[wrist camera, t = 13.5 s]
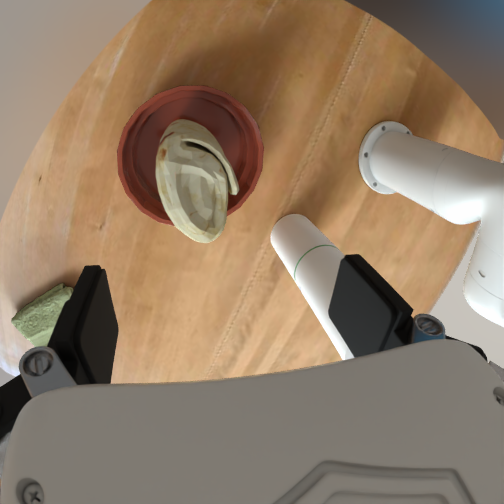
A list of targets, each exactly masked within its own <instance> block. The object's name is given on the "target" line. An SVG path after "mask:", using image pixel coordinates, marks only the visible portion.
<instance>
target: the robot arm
mask: <svg viewBox="0 0 504 504" xmlns="http://www.w3.org/2000/svg"><path fill="white" fill-rule="evenodd" d="M359 168H360V172H361V175H362V177H363V179H364V181H365V182H366V184H367V185H368V186H369V187H370V188H372V189H373V190H375V191H377V192H379V193H382V194H392V193H395V192H398V193H400V194H402V195H404V196H406V197H408V198H410V199H411V200H413V201H415V202H417V203H419V204H420V205H422V206H424V207H426V208H427V209H429V210H431V211H433V212H434V213H436V214H438V215H439V216H441V217H443V218H444V219H446V220H448V221H450V222H452V223H455V224H469V223H472V222H476V221H478V220H481V226H480V230H479V235H478V238H477V242H476V245H475V248H474V251H473V255H472V257H471V260H470V263H469V267H468V269H467V272H466V276H465V279H464V284H463V292H464V296H465V299H466V301H467V302H468V304H469V305H470V306H471V307H472V308H473V309H474V310H475V311H476V312H477V313H479V314H480V315H482V316H483V317H485V318H487V319H489V320H490V321H492V322H494V323H496V324H498V325H500V326H503V327H504V163H500V162H496V161H492V160H489V159H486V158H483V157H480V156H477V155H474V154H471V153H468V152H465V151H462V150H459V149H456V148H453V147H450V146H447V145H444V144H441V143H438V142H434V141H431V140H427V139H424V138H420V137H417V136H413V134H412V133H411V131H410V130H409V129H408V128H407V127H406V126H404V125H403V124H400V123H398V122H393V121H385V122H381V123H379V124H377V125H375V126H374V127H372V128H371V129H370V130H369V132H368V133H367V134H366V135H365V137H364V139H363V141H362V144H361V147H360V151H359ZM412 312H413V309H412V308H411V307H410V305H409V304H408V303H407V302H406V301H405V300H404V299H403V298H402V297H401V296H400V295H399V294H398V293H397V292H396V291H395V290H394V289H393V288H392V287H391V286H390V285H389V284H388V283H387V281H386V280H385V279H384V278H383V277H382V276H381V275H380V274H379V273H378V272H377V271H376V270H375V269H374V268H373V267H372V266H371V265H370V264H369V263H368V262H367V261H366V260H365V259H364V258H363V257H361V256H360V255H359V254H353V255H346V256H345V257H344V258H343V259H341V261H340V265H339V270H338V274H337V278H336V282H335V286H334V290H333V294H332V298H331V301H330V305H329V309H328V315H329V318H330V319H331V321H332V323H333V324H334V326H335V327H336V329H337V330H338V332H339V334H340V335H341V337H342V338H343V340H344V342H345V343H346V345H347V346H348V348H349V350H350V351H351V353H352V354H353V356H354V358H352V359H347V360H342V361H337V362H332V363H327V364H322V365H317V366H311V367H306V368H300V369H294V370H287V371H281V372H274V373H267V374H259V375H252V376H243V377H234V378H224V379H213V380H201V381H186V382H165V383H126V384H110V383H111V376H112V369H113V362H114V355H115V349H116V343H117V338H118V323H117V319H116V315H115V311H114V307H113V303H112V298H111V294H110V289H109V285H108V280H107V275H106V271H105V269H101V267H100V266H99V265H92V266H85V267H84V269H83V271H82V273H81V275H80V277H79V279H78V281H77V284H76V286H75V288H74V290H73V292H72V295H71V297H70V299H69V300H67V301H66V302H65V303H64V306H63V308H62V310H61V313H60V315H59V317H58V320H57V322H56V324H55V327H54V329H53V332H52V334H51V337H50V340H49V342H48V345H47V347H46V346H38V347H35V348H32V349H30V350H29V351H27V352H26V353H25V354H24V355H23V356H22V358H21V360H20V362H19V371H20V375H18V376H17V377H15V378H14V379H12V380H11V381H9V382H7V383H6V384H4V385H3V386H1V387H0V504H504V369H503V368H501V367H500V366H498V365H496V364H495V363H493V362H491V361H490V362H489V363H488V362H487V357H486V355H485V354H484V352H483V350H482V349H481V348H479V347H477V346H474V345H471V344H469V343H466V342H463V341H460V340H457V339H454V338H451V337H449V336H446V335H445V328H444V325H443V324H442V322H440V321H439V320H438V319H437V318H435V317H433V316H431V315H428V314H418V315H416V316H415V317H414V318H412V317H411V314H412Z"/></svg>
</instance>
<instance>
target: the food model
mask: <svg viewBox="0 0 504 504" xmlns="http://www.w3.org/2000/svg"><path fill="white" fill-rule="evenodd" d="M156 180H157V186H158V192H159V195H160V197H161V200H162V203H163V206H164V209H165V211H166V213H167V214H168V216H169V217H170V219H171V220H172V222H173V224H174V225H175V226H176V227H177V228H178V229H179V230H180V231H181V232H183V233H184V234H185V235H186V236H188V237H190V238H191V239H193V240H195V241H198V242H200V243H208V242H211V241H213V240H215V239H216V238H217V237H219V235H220V234H221V232H222V231H223V229H224V226H225V223H226V220H227V206H228V191H229V193H230V194H232V195H236V194H237V193H238V192H239V185H238V182H237V179H236V176H235V174H234V171H233V169H232V166H231V164H230V163H229V161H228V160H227V158H226V157H225V155H224V152H223V150H222V148H221V146H220V145H219V143H218V142H217V140H216V138H215V137H214V136H213V135H212V134H211V133H210V132H209V131H208V130H207V129H206V128H205V127H204V126H202V125H200V124H198V123H196V122H193V121H189V120H186V119H178V120H176V121H174V122H172V123H171V124H170V125H169V126H168V127H167V129H166V130H165V132H164V134H163V136H162V138H161V140H160V144H159V147H158V152H157V156H156Z"/></svg>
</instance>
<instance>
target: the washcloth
mask: <svg viewBox="0 0 504 504" xmlns="http://www.w3.org/2000/svg"><path fill="white" fill-rule="evenodd" d="M72 292H73V289H72V288H71V287H67V286H65V284H64V283H61V284H58V285H57V286H56V287H54V288H52V289H51V290H50V291H47V292H46V293H45V294H44V295H42V296H40V297H38V298H37V299H36V300H34V301H33V302H31V303H29V305H26V306H25V307H24V308H23V309H21V310H20V312H18V313H16V315H15V316H14V317H13V318H12V320H11V321H12V324H13V325H14V326H15V327H16V328H17V329H18V330H19V332H21V334H22V335H24V337H25V338H26V339H28V340H29V341H30V342H31V343H32V344H33V345H34V346H35V347H38V346H46V347H47V345H48V342H49V340H50V337H51V334H52V332H53V329H54V327H55V324H56V322H57V320H58V317H59V315H60V313H61V310H62V308H63V306H64V303H65V302H66V301H67V300H69V299H70V297H71V295H72Z"/></svg>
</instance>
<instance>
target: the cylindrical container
mask: <svg viewBox="0 0 504 504" xmlns="http://www.w3.org/2000/svg"><path fill="white" fill-rule="evenodd" d="M271 243H272V245H273V247H274V249H275V250H276V252H277V254H278V255H279V257H280V258H281V260H282V261H283V263H284V265H285V266H286V268H287V269H288V271H289V273H290V274H291V276H292V277H293V279H294V281H295V282H296V284H297V285H298V287H299V289H300V290H301V292H302V293H303V295H304V297H305V298H306V300H307V302H308V303H309V305H310V306H311V308H312V310H313V311H314V313H315V314H316V316H317V318H318V319H319V321H320V323H321V324H322V326H323V328H324V329H325V331H326V332H327V334H328V336H329V337H330V339H331V341H332V342H333V344H334V346H335V347H336V349H337V351H338V352H339V354H340V356H341V357H342V359H343V360H347V359H352V358H354V356H353V354H352V353H351V351H350V350H349V348H348V346H347V345H346V343H345V342H344V340H343V338H342V337H341V335H340V334H339V332H338V330H337V329H336V327H335V326H334V324H333V323H332V321H331V319H330V318H329V315H328V309H329V305H330V301H331V298H332V294H333V290H334V286H335V282H336V278H337V274H338V270H339V265H340V261H341V259H343V258H344V257H345V255H344V254H343V253H342V252H341V251H340V250H339V249H338V248H337V247H336V246H335V245H334V244H333V243H332V242H331V241H330V240H329V239H328V238H327V237H326V236H325V235H324V234H323V233H322V232H321V231H320V230H319V229H318V228H317V227H316V226H315V225H314V224H313V223H312V222H311V221H310V220H309V219H308V218H306V217H305V216H303V215H300V214H290V215H287V216H284V217H283V218H281V219H280V220H279V221H278V222H277V223H276V224H275V225H274V227H273V229H272V232H271Z"/></svg>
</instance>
